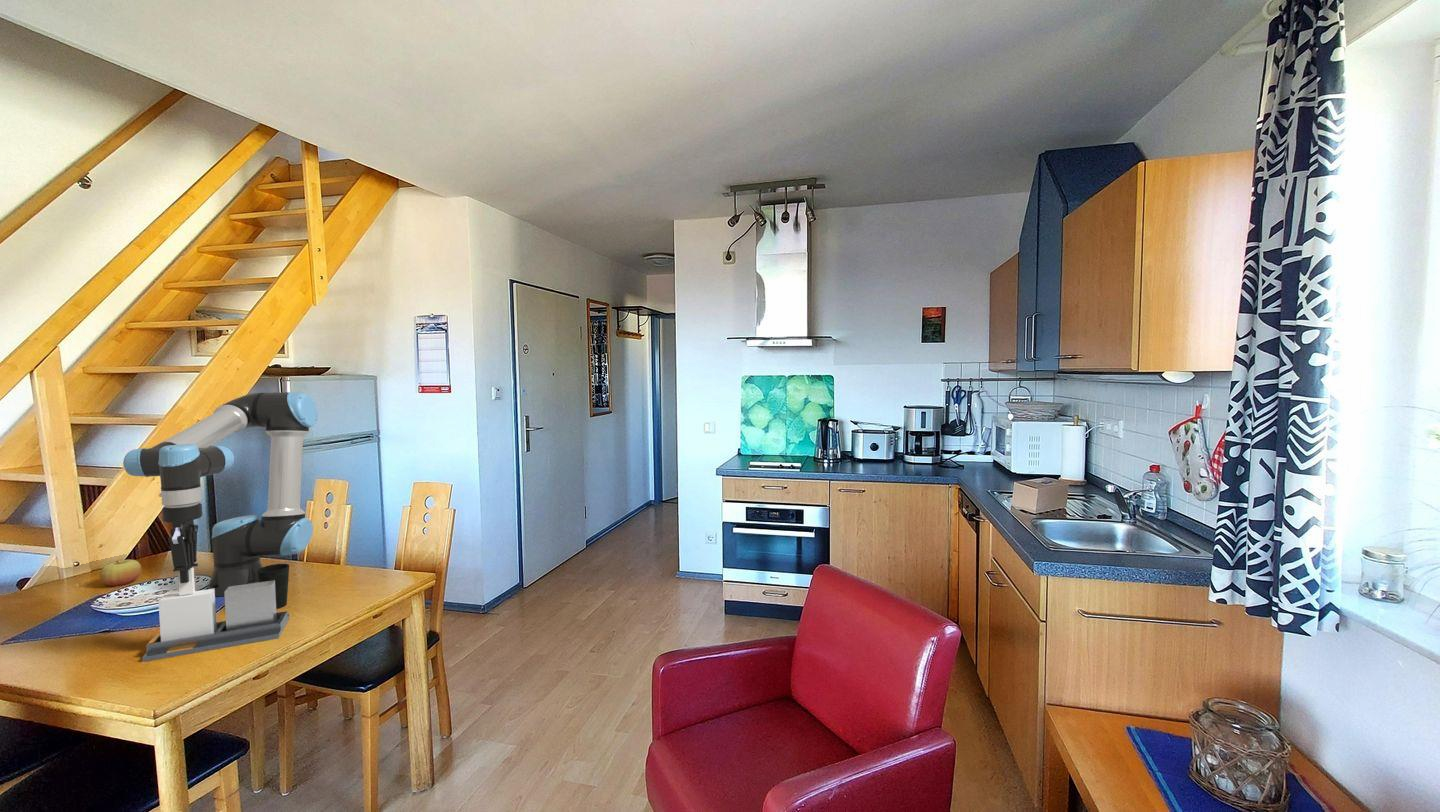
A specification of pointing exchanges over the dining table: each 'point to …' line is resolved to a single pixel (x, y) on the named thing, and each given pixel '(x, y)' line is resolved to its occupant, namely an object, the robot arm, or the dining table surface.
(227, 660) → the dining table surface
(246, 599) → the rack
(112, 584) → the apple
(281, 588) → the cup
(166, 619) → the block
